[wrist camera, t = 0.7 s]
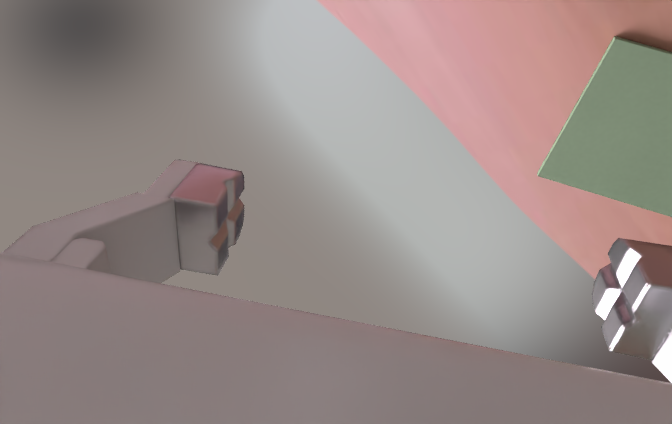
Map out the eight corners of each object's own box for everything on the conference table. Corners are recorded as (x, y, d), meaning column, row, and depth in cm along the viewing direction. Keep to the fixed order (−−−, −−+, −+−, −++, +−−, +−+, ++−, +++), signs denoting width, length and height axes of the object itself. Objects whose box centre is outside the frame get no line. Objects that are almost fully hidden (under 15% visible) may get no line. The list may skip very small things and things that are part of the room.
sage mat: (614, 35, 45) (615, 38, 44) (792, 86, 44) (795, 89, 43) (537, 172, 54) (537, 176, 54) (680, 216, 53) (682, 220, 53)
